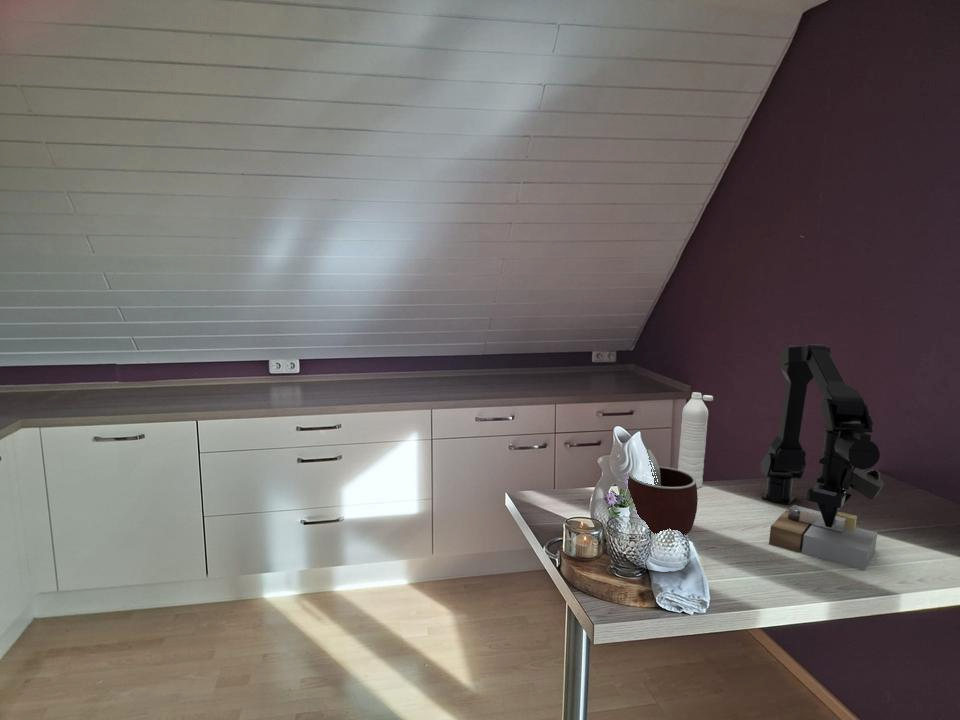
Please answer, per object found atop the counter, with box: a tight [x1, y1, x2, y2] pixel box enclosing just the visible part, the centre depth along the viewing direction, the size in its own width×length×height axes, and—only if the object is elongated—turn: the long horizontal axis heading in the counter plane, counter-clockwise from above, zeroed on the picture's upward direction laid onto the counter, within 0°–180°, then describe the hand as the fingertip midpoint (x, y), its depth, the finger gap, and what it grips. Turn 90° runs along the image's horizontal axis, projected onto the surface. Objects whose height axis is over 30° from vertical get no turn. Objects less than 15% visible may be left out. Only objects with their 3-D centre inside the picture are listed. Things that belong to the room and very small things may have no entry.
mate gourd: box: [627, 449, 699, 536], centre depth 132 cm, size 16×14×20 cm
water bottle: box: [677, 391, 714, 489], centre depth 173 cm, size 9×6×25 cm
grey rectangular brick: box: [801, 511, 878, 572], centre depth 138 cm, size 12×12×7 cm
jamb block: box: [768, 509, 812, 553], centre depth 144 cm, size 12×6×4 cm, turn 141°
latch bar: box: [787, 504, 847, 533], centre depth 142 cm, size 11×3×2 cm, turn 49°
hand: (828, 526), depth 138 cm, fingers closed
